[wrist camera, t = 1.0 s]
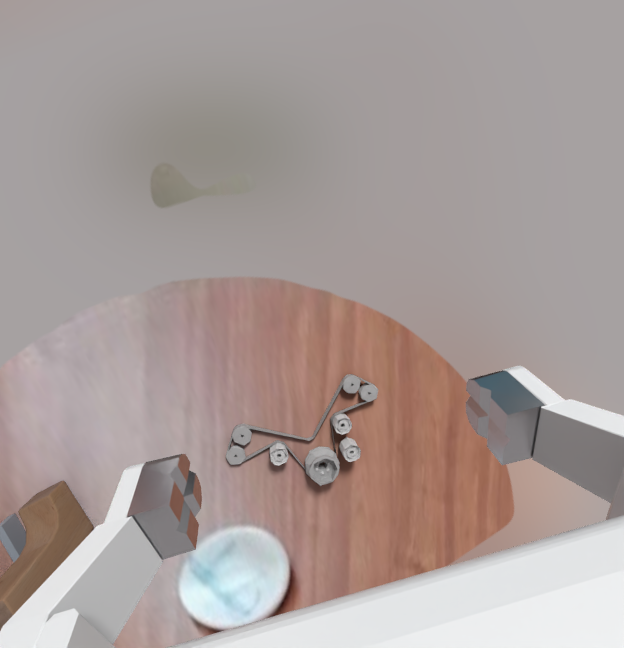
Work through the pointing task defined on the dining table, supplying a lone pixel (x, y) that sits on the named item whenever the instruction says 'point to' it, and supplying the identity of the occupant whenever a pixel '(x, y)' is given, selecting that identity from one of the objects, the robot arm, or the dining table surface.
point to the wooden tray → (13, 536)
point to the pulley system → (320, 454)
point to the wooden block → (43, 545)
